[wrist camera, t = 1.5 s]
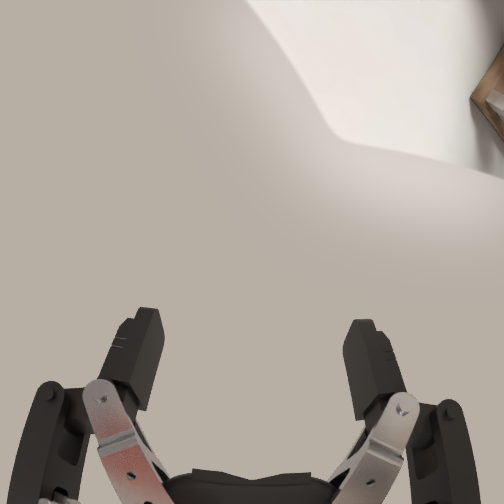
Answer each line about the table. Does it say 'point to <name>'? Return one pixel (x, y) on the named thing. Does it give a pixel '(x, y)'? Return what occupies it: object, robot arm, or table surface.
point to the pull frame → (492, 94)
